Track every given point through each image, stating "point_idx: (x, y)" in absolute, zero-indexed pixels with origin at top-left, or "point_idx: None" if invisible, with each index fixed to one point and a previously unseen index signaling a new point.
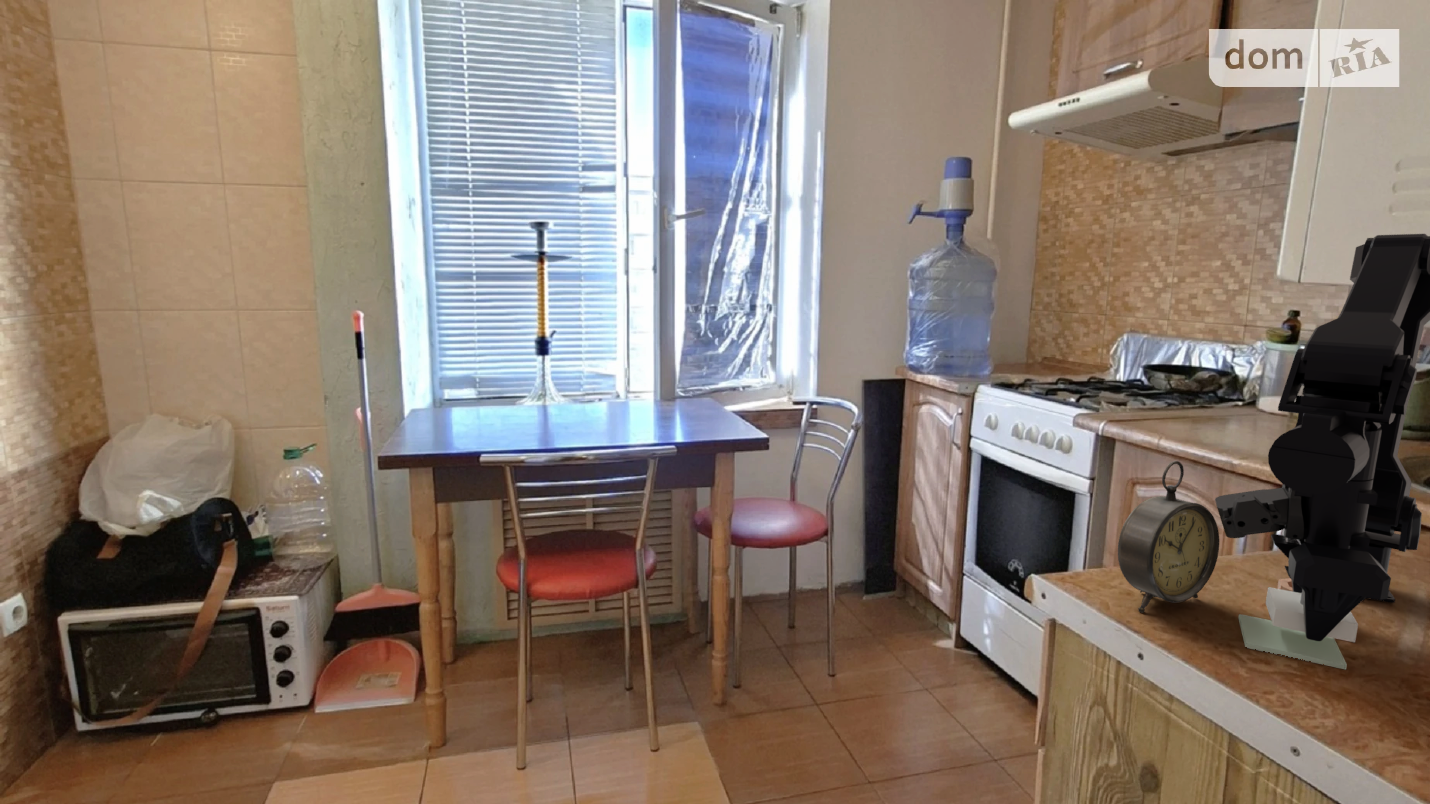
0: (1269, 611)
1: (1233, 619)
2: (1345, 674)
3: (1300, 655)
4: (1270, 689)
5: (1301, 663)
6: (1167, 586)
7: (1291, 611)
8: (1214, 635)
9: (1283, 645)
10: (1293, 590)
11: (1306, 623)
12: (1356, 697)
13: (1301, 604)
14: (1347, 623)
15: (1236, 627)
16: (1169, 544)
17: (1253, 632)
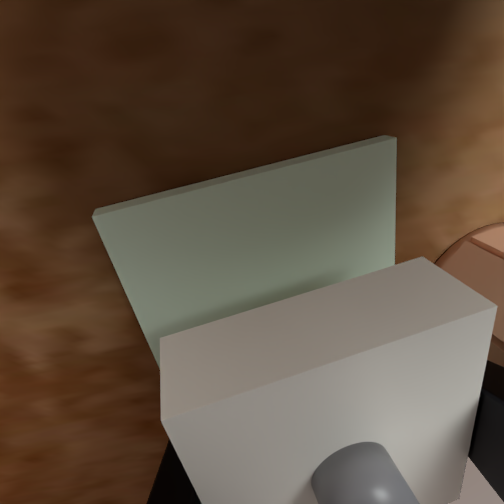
0: (305, 301)
1: (365, 120)
2: (156, 427)
3: (157, 357)
4: None
5: (130, 354)
6: None
7: (187, 466)
8: (118, 74)
9: (191, 312)
10: (493, 389)
11: (152, 487)
12: (20, 474)
13: (328, 454)
14: None
15: (288, 143)
16: None
17: (235, 217)
